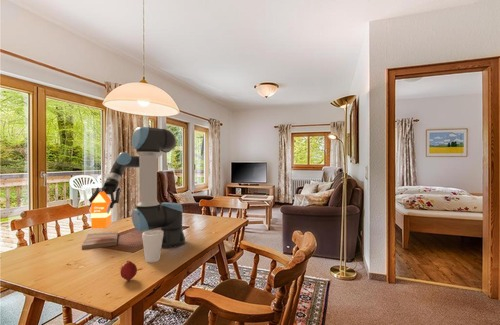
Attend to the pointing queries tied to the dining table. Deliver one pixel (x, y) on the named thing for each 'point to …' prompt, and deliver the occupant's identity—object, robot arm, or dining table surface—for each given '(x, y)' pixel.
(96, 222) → the orange juice
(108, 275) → the dining table surface
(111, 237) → the walnut board
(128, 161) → the robot arm
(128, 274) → the onion
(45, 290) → the dining table surface
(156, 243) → the foam cup
